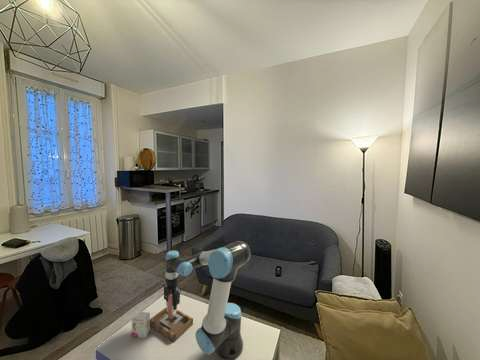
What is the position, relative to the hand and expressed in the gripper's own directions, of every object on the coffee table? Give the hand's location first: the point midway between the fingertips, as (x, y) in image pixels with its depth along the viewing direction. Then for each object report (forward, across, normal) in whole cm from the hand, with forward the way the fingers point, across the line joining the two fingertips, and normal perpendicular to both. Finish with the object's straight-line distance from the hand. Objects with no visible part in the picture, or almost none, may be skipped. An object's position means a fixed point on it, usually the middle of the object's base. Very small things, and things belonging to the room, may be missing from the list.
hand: (171, 312), depth 123 cm
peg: (+3, 0, 0) cm, 3 cm away
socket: (+8, 0, 0) cm, 8 cm away
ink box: (+9, +10, +14) cm, 19 cm away
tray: (+8, 0, 0) cm, 8 cm away
